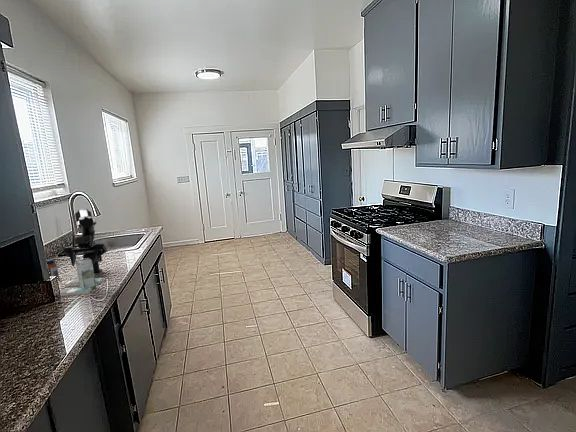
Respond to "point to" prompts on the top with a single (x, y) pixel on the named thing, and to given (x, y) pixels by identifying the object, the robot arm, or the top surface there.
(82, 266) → the syrup box
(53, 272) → the supplement bottle
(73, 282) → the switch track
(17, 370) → the top surface
